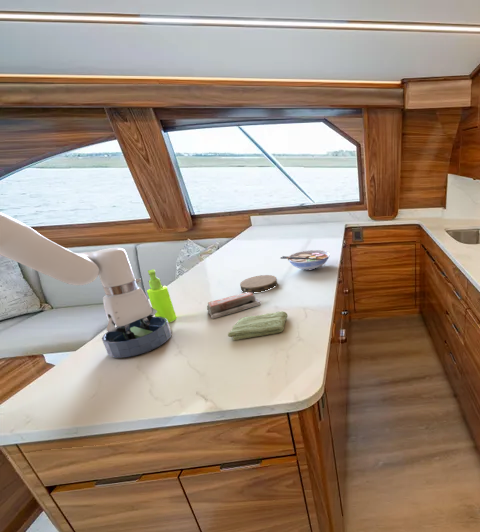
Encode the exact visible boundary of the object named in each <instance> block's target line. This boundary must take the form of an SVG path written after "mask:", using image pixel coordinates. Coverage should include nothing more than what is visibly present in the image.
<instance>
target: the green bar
mask: <svg viewBox="0 0 480 532" xmlns="http://www.w3.org/2000/svg"><path fill="white" fill-rule="evenodd" d="M130 330H131V332H133V333H134V336H135V338H139V337H142V336H144V335H147V334H149V333H151V332H153V331H149V330H145V329H142V328H138V327H131V328H130ZM123 335H124V333H123ZM124 337H125V335H124ZM125 339H126V337H125Z"/></svg>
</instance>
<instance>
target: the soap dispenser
mask: <svg viewBox="0 0 480 532" xmlns="http://www.w3.org/2000/svg"><path fill="white" fill-rule="evenodd" d="M147 273H148V275H149V278H150V279H149V280H148V281H147V282H148V285H149V289H147V290H146V293H147V296H148V300H149V303H150V305H151V307H152V308H154V309H155V310H157V313H156V314H155V315H154V317H164V318H166V319H167V320H168V323H171V322H174V321H176V319H177V315H176V312H175V309H174V305H173V303H172V298H171V295H170V292H169V290H168V286H166V285H163V284H162V281H161V278H159V277H157V275H156V270H155V269H154V268H153V269H149V270H147Z"/></svg>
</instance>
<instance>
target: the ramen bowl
mask: <svg viewBox="0 0 480 532" xmlns="http://www.w3.org/2000/svg"><path fill="white" fill-rule="evenodd" d="M330 255H331V254H330V251H327V250H321V249H315V250H313V249H312V250H310V249H309V250H302V251H298V252H295V253H292V254H290V255H288V256H284V255H282V257H280V259H281V260H287V261H288V262H289V263H290V264H291V265H292V266H293V267H295V268H297V269H300V270H304V269H306V270H305V271H310V270H309V269H314V270H316V269H318V268H320V267H322V266H324V265H325V264H326V262H327V261H328V260H329V258H330ZM315 268H316V269H315Z"/></svg>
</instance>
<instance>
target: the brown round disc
mask: <svg viewBox="0 0 480 532" xmlns="http://www.w3.org/2000/svg"><path fill="white" fill-rule="evenodd" d="M276 284H277V285H278V280H277V276H275V275H271V274H263V275H261V274H260V275H256V276H251V277H248V278H246V279H244V280H241V282H240V283H239V286H240V290H242V291H243V292H242V291H241V292H242V293H244V292H250V293H253V294H255V293H254V292H261V291H265V290H268V289H270V288H273V287H274V286H276ZM276 287H277V286H276ZM273 289H274V288H273ZM268 291H269V290H268ZM265 292H266V291H265ZM261 293H262V292H261Z"/></svg>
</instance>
